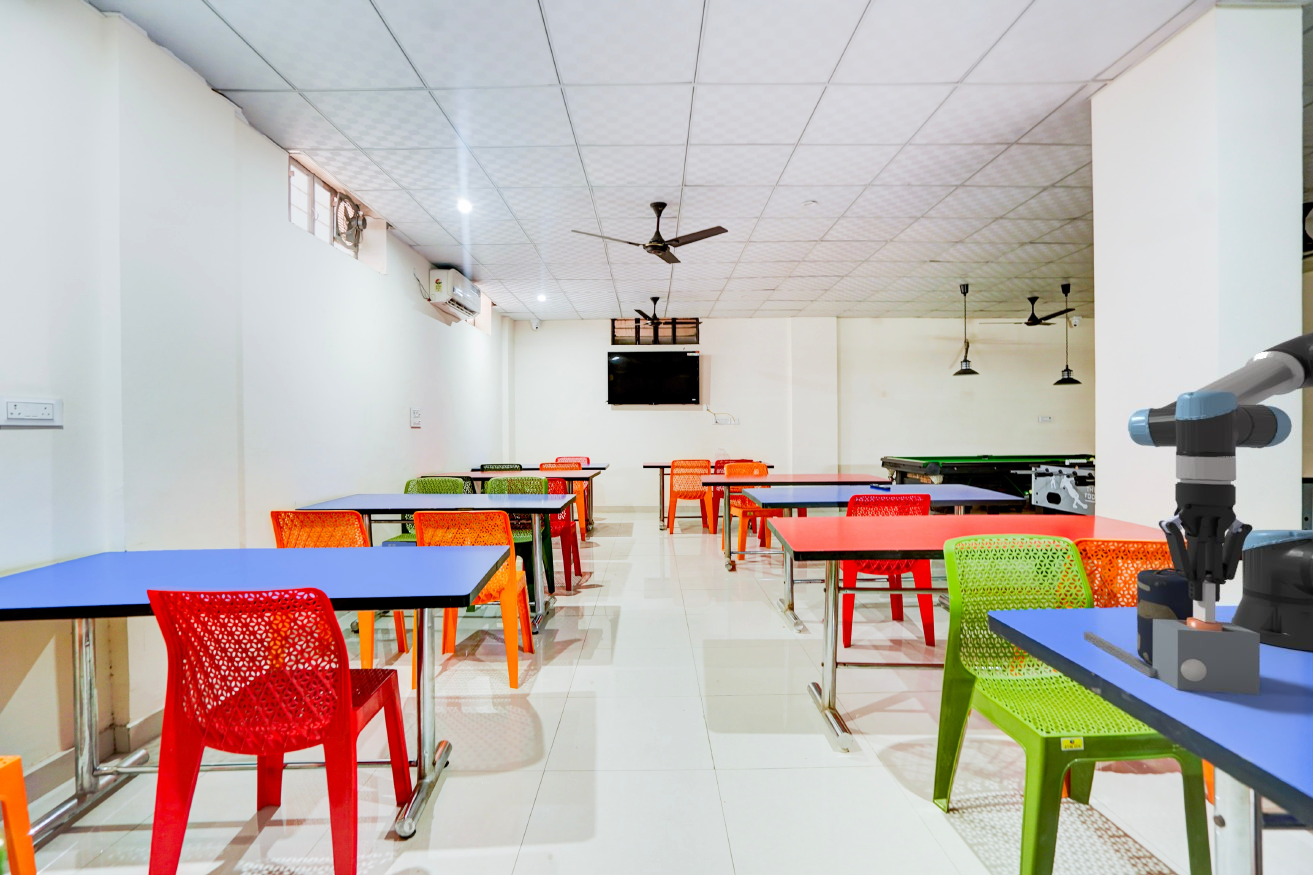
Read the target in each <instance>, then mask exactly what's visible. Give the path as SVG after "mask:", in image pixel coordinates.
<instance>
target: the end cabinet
mask: <svg viewBox="0 0 1313 875" xmlns="http://www.w3.org/2000/svg"><path fill="white" fill-rule="evenodd" d="M1219 622H1220V623H1222V631H1203V630H1197V629H1194V628H1192V627H1190V626H1187V620H1166V619H1153V664H1152V666H1153V667H1154V668H1156V669H1157V678H1156V679H1158V680H1160V681H1162V682H1163V683H1166V685H1169V686H1170V687H1171V688H1173V689H1175V690H1179V691H1194V692H1195V691H1196V692H1206V693H1207V692H1210V693H1222V694H1223V693H1225V694H1238V695H1239V694H1240V695H1241V694H1243V695H1257V696H1259V695H1260V683H1261V682H1260V678H1261V677H1260V676H1261V675H1260V673H1261V672H1260V664H1261V661H1260V660H1261V659H1260V657H1261V652H1260V651H1261V642H1260V634H1259V633H1256V632H1253V631H1251V630H1248V629H1245V628H1243V627H1240V626H1238V625H1235V624H1232V623H1231V622H1230V621H1229V622H1227V621H1219Z"/></svg>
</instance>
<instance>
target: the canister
mask: <svg viewBox="0 0 1313 875" xmlns="http://www.w3.org/2000/svg"><path fill="white" fill-rule="evenodd" d="M1136 577H1137V578H1136V586H1137V587H1136V590H1137V591H1136V593H1137V594H1136V595H1137V596H1136V598H1137V599H1136V600H1137V602H1136V604H1137V605H1136V624H1137V628H1136V629H1137V631H1136V632H1137V634H1136V635H1137V637H1136V638H1137V639H1136V643H1137V647H1136V648H1137V654H1138V656H1139V657H1140V659H1142V661H1144V662H1146V663H1148V664H1152V665H1153V619H1166V620H1187V618H1189V617H1193V600H1192V599H1190V598H1189V581H1188V579H1187V578H1185V577H1182V576H1179V575H1177V574H1176V573H1175V570H1174V567H1166V568H1162V569H1144V570H1141V571H1139V572H1138V573H1137V575H1136Z"/></svg>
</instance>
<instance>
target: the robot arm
mask: <svg viewBox="0 0 1313 875" xmlns="http://www.w3.org/2000/svg"><path fill="white" fill-rule="evenodd" d="M1308 388H1313V331H1312V332H1309V333H1305V334H1301V335H1298V336H1296V337H1294V338H1290V339H1288V340H1285V341H1283V342H1281V343H1278V344H1276V345H1274V346H1272V347H1270V348H1268V349H1264V350H1263V351H1261V352H1259V353H1257V354H1255V355H1253V356H1252V357H1250V359H1248V361H1247V362H1246V363H1245V365H1244V366H1242V367H1240V368H1239V369H1237V370H1234V371H1233V372H1230V373H1228V374H1227V375H1224V376H1223V377H1220V378H1218V379H1217V380H1214V381H1213V382H1211V383H1208V384H1206V385H1205V386H1203V387H1200V388H1199V389H1196V390H1194V391H1187V392H1183V393H1181V394H1179V395H1178V396H1177V397H1176V398H1177V399H1176V401H1173V402H1171V403H1169V404H1167V405H1164V406H1162V407H1159V408H1154V407H1150V408H1146V409H1140V410H1136V411H1135V412H1134V413H1133V414H1132V415H1131V416H1130V417H1129V419H1128V423H1127V430H1128V432H1129V437H1130V439H1131V440H1132V441H1133V442H1134V443H1136V444H1137V445H1139V446H1144V447H1145V446H1146V447H1147V446H1148V447H1155V448H1161V447H1163V448H1165V447H1169V448H1170V447H1172V448H1173V447H1175V448H1176V451H1175V478H1176V479H1177V480H1179V481H1177V482H1176V483H1175V484H1174V485H1175V486H1174V488H1175V490H1174V491H1175V495H1174V496H1175V502H1176V505H1177V506H1176V509H1175V510H1174V512H1173V516H1172V517H1170V518H1168V519H1167V520H1160V521H1158V527H1160V529H1161V531H1162V532H1163V533H1164V535H1165V539H1166V543H1167V547H1168V551H1169V553H1170V554H1169V555H1170V558H1171V562H1172V566H1173V569H1174V570H1175V573H1176V574H1177V575H1179V576H1182V577H1185V578H1187V579H1188V581H1189V598H1190V599H1192V600H1193V618H1196V619H1198V620H1201V621H1203V622H1211V623H1215V621H1216V603H1218V602H1220V600H1221V585H1226V582H1227V581H1228V580H1229V581H1233V580H1234V579H1235V577H1236V573H1237V569H1238V566H1239V562H1240V560H1241V558H1242V560H1241V562H1242V563H1241V564H1242V566H1241V567H1242V568H1241V569H1242V570H1241V572H1242V574H1241V575H1242V577H1241V578H1242V581H1241V582H1242V594H1241V595H1242V596H1241V599H1240V602H1239V603H1238V605H1237V608H1236V610H1235V613H1234V615H1233V617H1232V618H1231V619H1230V620H1231V621H1230V623H1232V624H1235V625H1238V626H1240V627H1243V628H1245V629H1248V630H1251V631H1253V632H1256V633H1259V634H1260V643H1263V644H1267V645H1271V646H1274V647H1275V646H1276V647H1282V648H1287V649H1288V648H1289V649H1293V650H1294V649H1295V650H1299V651H1301V650H1302V651H1312V652H1313V530H1312V529H1255V530H1253V526H1252V524H1248V523H1244V522H1242V521H1240V520H1239V519H1237V515H1236V512H1235V511H1234V506H1235V505H1236V504H1237V503H1236V502H1237V500H1236V499H1237V497H1236V495H1237V491H1236V490H1237V487H1236V486H1235V485H1234V483H1232V482H1235V481H1236V480H1237V457H1236V456H1237V454H1236V453H1237V452H1236V449H1237V448H1250V449H1263V448H1270V447H1275V446H1278V445H1279V444H1281V443H1283V442H1284V441H1286V440H1287V439H1288V438H1289V436H1290V434H1291V432H1292V426H1293V425H1292V421H1291V418H1290V416H1289V415H1288V414H1287V412H1286V411H1284V410H1282V409H1281V408H1279V407H1277V406H1272V405H1265V404H1261V402H1264V401H1265V400H1267V399H1269V398H1271V397H1274V396H1282V395H1286V394H1290V393H1292V392H1294V391H1296V390H1301V389H1308ZM1182 530H1184V535H1183V533H1182ZM1185 540H1186V541H1185Z"/></svg>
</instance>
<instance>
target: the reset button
mask: <svg viewBox="0 0 1313 875" xmlns="http://www.w3.org/2000/svg"><path fill="white" fill-rule="evenodd" d="M1220 622H1221V621H1218V620H1215V623H1211V622H1203V621H1201V620H1198V619H1196V618H1193V617H1189V618H1187V626H1190V627H1192V628H1194V629H1197V630H1203V631H1222V623H1220Z"/></svg>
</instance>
